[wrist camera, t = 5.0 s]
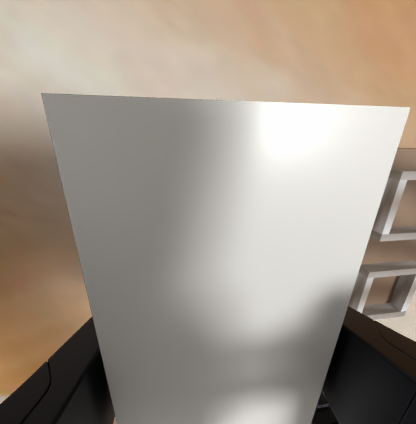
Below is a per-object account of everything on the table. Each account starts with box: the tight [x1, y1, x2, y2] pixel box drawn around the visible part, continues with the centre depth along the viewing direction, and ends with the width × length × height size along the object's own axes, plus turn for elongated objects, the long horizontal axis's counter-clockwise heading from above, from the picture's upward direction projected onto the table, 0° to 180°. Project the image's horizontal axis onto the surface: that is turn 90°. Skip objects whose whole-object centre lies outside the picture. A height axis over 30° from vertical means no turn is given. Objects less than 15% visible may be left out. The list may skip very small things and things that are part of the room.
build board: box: [348, 148, 416, 320], centre depth 24 cm, size 22×11×2 cm, turn 0°
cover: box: [41, 93, 410, 424], centre depth 7 cm, size 13×6×4 cm, turn 0°
